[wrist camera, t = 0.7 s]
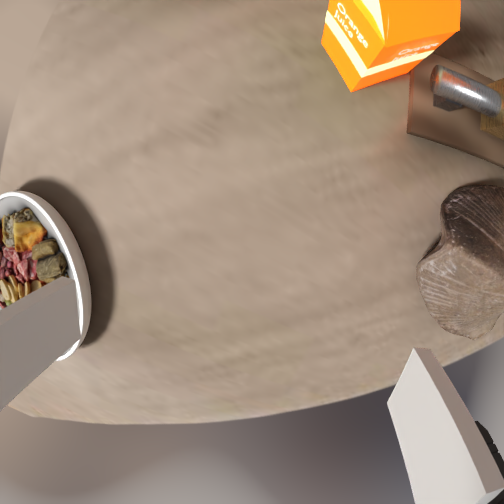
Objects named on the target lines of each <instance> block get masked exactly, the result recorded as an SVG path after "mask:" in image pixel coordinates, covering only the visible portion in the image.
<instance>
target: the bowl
mask: <svg viewBox="0 0 504 504" xmlns="http://www.w3.org/2000/svg"><path fill="white" fill-rule="evenodd" d="M61 276H64V277H67V278H70V279H73V280H75V282H76V295H77V306H78V315H79V323H80V331H81V339H80V340H78V341H77V342H76V343H75V344H74V345H73V346H71V347H70V348H69V349H68V350H67V351H66V352H65V353H63V354H62V355H61V356H60V357H59V358H58V359H57V360H55V361H60V360H63V359H66V358H68V357H69V356H70V355H72V354H73V353H74V352H75V351H76V350H77V349H78V348H79V346H80V345H81V343H82V342H83V340H84V338H85V336H86V333H87V331H88V327H89V323H90V317H91V289H90V282H89V277H88V272H87V269H86V265H85V262H84V259H83V256H82V253H81V250H80V248H79V246H78V243H77V241H76V239H75V237H74V235H73V233H72V231H71V230H70V228H69V226H68V225H67V223H66V222H65V220H64V219H63V218H62V216H61V215H60V214H59V213H58V212H57V211H56V209H55V208H54V207H52V206H51V205H50V204H49V203H48V202H47V201H45V200H44V199H42V198H41V197H39V196H37V195H35V194H32V193H29V192H25V191H11V192H6V193H4V194H2V195H0V310H2V309H4V308H5V307H7V306H9V305H11V304H12V303H14V302H16V301H18V300H19V299H21V298H23V297H25V296H26V295H28V294H30V293H32V292H34V291H35V290H37V289H39V288H41V287H43V286H45V285H46V284H48V283H50V282H52V281H54V280H56V279H58V278H60V277H61Z"/></svg>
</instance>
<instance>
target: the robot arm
mask: <svg viewBox="0 0 504 504" xmlns="http://www.w3.org/2000/svg"><path fill="white" fill-rule="evenodd" d="M80 339H81V331H80V323H79V315H78V306H77V295H76V282H75V280H73V279H70V278H67V277H64V276H61V277H60V278H58V279H56V280H54V281H52V282H50V283H48V284H46V285H45V286H43V287H41V288H39V289H37V290H35V291H34V292H32V293H30V294H28V295H26V296H25V297H23V298H21V299H19V300H18V301H16V302H14V303H12V304H11V305H9V306H7V307H5V308H4V309H2V310H0V411H1V410H2V409H3V408H4V407H5V406H6V405H7V404H8V403H9V402H11V401H12V400H13V399H14V398H15V397H16V396H17V395H18V394H19V393H20V392H21V391H22V390H23V389H24V388H26V387H27V386H28V385H29V384H30V383H31V382H32V381H33V380H34V379H35V378H37V377H38V376H39V375H40V374H41V373H42V372H43V371H44V370H45V369H47V368H48V367H49V366H50V365H51V364H52V363H53V362H54V361H55V360H57V359H58V358H59V357H60V356H61V355H62V354H63V353H65V352H66V351H67V350H68V349H69V348H70V347H71V346H73V345H74V344H75V343H76V342H77V341H78V340H80ZM387 404H388V408H389V411H390V414H391V417H392V420H393V423H394V427H395V430H396V433H397V437H398V440H399V443H400V447H401V450H402V454H403V457H404V461H405V465H406V468H407V472H408V476H409V480H410V484H411V488H412V492H413V496H414V500H415V504H504V461H503V459H502V457H501V455H500V453H498V449H497V447H496V445H495V444H493V440H492V438H491V436H490V434H489V433H488V431H487V430H486V429H485V428H484V427H483V426H482V425H481V424H480V423H479V422H478V421H474V420H473V418H472V416H471V415H470V413H469V411H468V409H467V408H466V406H465V404H464V403H463V401H462V399H461V397H460V396H459V394H458V392H457V391H456V389H455V387H454V386H453V384H452V382H451V381H450V379H449V378H448V376H447V374H446V373H445V371H444V370H443V368H442V367H441V365H440V363H439V362H438V360H437V359H436V357H435V356H434V354H433V353H432V351H431V350H430V349H425V348H413V350H412V352H411V354H410V357H409V359H408V361H407V363H406V366H405V368H404V370H403V372H402V374H401V376H400V378H399V380H398V382H397V384H396V386H395V388H394V391H393V392H392V394H391V396H390V398H389V400H388V402H387Z"/></svg>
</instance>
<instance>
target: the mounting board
mask: <svg viewBox="0 0 504 504" xmlns="http://www.w3.org/2000/svg"><path fill="white" fill-rule="evenodd" d="M436 65H441V66H444V67H446V68H449V69H451V70H453V71H456V72H458V73H460V74H463V75H465V76H467V77H469V78H471V79H473V80H476V81H478V82H480V83H482V84H484V85H488V84H490V83H493V82H495V81H493V80H491V79H489V78H488V77H486V76H484V75H482V74H480V73H478V72H476V71H474V70H471V69H469V68H467V67H465V66H463V65H461V64H458V63H456V62H454V61H451V60H449V59H447V58H444V57H442V56H439V55H437V54H434V53H431V54H430V55H428V56H427V57H426V58H424V59H423V60H422V61H421V62H420V63H418V64H417V65H416V66H415V67H414V68H413V69H411V70H410V92H409V110H408V124H407V133H408V134H411V135H415V136H418V137H421V138H425V139H428V140H431V141H434V142H437V143H440V144H443V145H446V146H449V147H452V148H455V149H458V150H460V151H463V152H466V153H468V154H471V155H474V156H476V157H479V158H481V159H484V160H486V161H488V162H491V163H493V164H496V165H498V166H500V167H502V168H504V140H502V139H500V138H497V137H495V136H493V135H491V134H489V133H487V132H485V131H482V130H480V129H481V113H480V112H477V111H475V110H473V109H471V108H468V107H466V106H464V105H462V107H461V108H458V109H455V110H452V111H450V112H448V111H446V110H443V109H440V108H437V107H435V106H433V93H432V92H431V90H430V76H431V73H432V70H433V68H434V67H435V66H436Z"/></svg>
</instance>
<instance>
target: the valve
mask: <svg viewBox="0 0 504 504" xmlns="http://www.w3.org/2000/svg"><path fill="white" fill-rule="evenodd" d="M430 90H431V92H432V93H433V106H435V107H437V108H440V109H443V110H446V111H448V112H450V111H452V110H455V109H458V108H461V107H462V105H464V106H466V107H468V108H471V109H473V110H475V111H477V112H480V113H481V129H480V130H482V131H485V132H487V133H489V134H491V135H493V136H495V137H497V138H500V139H502V140H504V78H503V79H500V80H498V81H495V82H493V83H490V84H488V85H484V84H482V83H480V82H478V81H476V80H473V79H471V78H469V77H467V76H465V75H463V74H460V73H458V72H456V71H453V70H451V69H449V68H446V67H444V66H441V65H436V66H435V67H434V68H433V70H432V73H431V76H430Z"/></svg>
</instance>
